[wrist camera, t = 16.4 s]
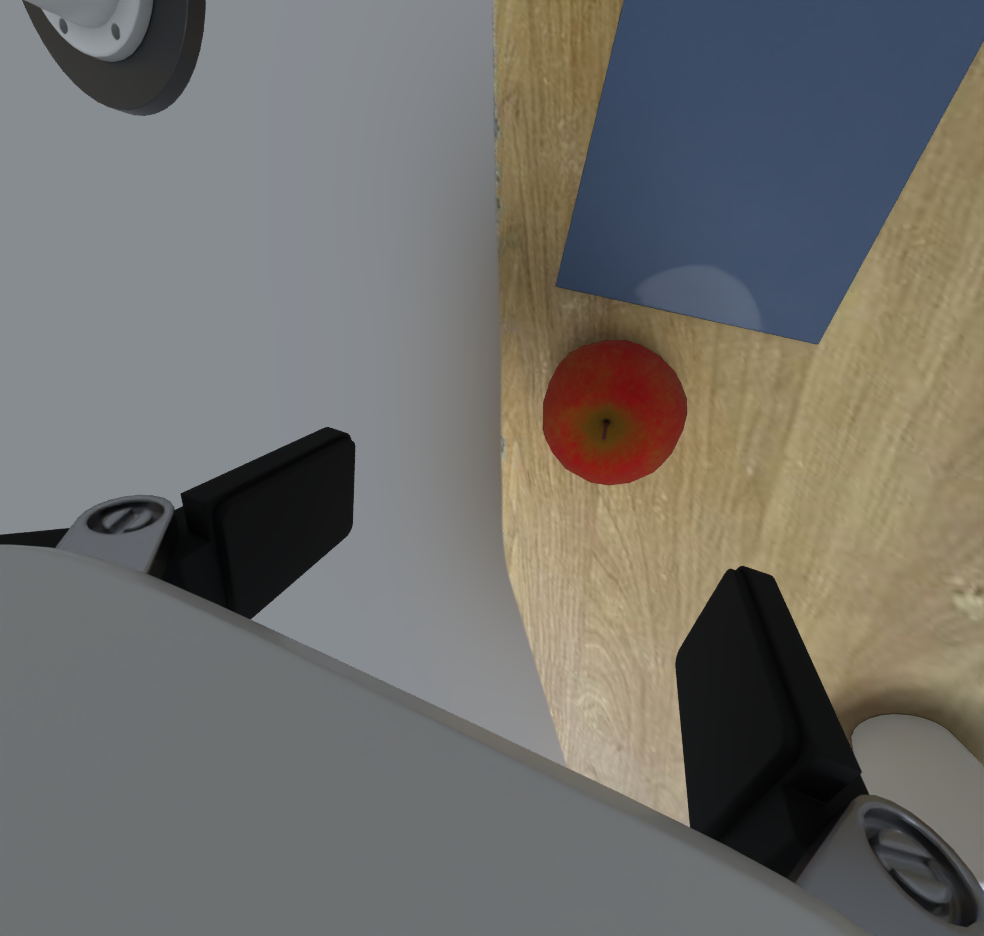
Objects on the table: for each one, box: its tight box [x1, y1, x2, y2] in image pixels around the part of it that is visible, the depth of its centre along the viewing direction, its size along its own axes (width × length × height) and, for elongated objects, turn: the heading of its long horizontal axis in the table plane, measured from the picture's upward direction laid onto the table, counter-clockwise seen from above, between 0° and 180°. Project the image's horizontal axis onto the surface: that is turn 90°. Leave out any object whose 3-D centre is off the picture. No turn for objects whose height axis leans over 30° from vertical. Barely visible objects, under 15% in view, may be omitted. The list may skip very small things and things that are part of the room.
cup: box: [851, 714, 984, 891], centre depth 28 cm, size 12×12×12 cm
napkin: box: [556, 0, 984, 344], centre depth 23 cm, size 17×20×1 cm
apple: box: [543, 340, 687, 485], centre depth 26 cm, size 9×8×11 cm
